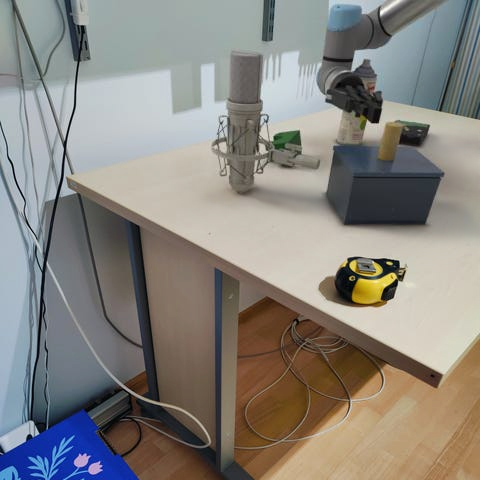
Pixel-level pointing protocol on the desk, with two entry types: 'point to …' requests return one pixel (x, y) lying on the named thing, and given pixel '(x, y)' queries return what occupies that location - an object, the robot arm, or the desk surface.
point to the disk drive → (413, 132)
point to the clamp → (286, 141)
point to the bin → (380, 197)
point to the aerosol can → (349, 124)
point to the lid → (387, 158)
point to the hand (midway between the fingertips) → (376, 116)
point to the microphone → (249, 125)
